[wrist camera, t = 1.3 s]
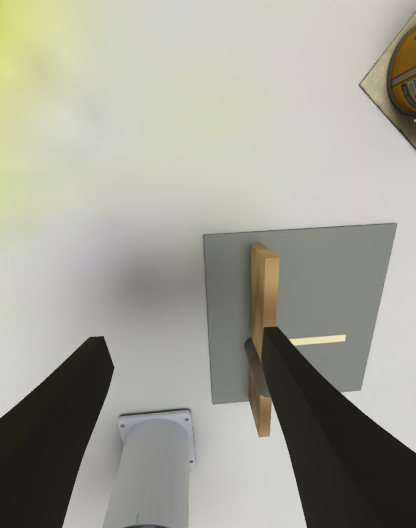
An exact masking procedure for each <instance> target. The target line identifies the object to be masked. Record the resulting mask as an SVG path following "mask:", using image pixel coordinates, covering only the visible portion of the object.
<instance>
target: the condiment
mask: <svg viewBox="0 0 416 528" xmlns="http://www.w3.org/2000/svg"><path fill="white" fill-rule="evenodd" d="M360 85H361V86H362V87H363V88H364V90H365V91H366V92H367V93H368V95H369V96H370V97H371V98H372V99H373V101H374V102H375V103H376V104H377V105H378V106H379V107H380V109H381V110H382V111H383V112H384V114H385V115H386V116H388V117H389V119H390V120H391V121H392V122H393V123H394V124H395V125H396V126H397V127H398V128H399V129H400V130H402V131H403V133H404V134H405V136H406V137H407V138H408V139H409V140H410V142H411V143H412V144H413V145H414V146H415V147H416V122H414V120H415V119H416V12H415V14H414V15H413V16H412V17H411V19H410V20H409V21H408V23H407V24H406V25H405V26H404V28H403V29H402V30H401V32H400V33H399V34H398V35H397V37H396V38H395V39H394V41H393V42H392V43H391V45H390V46H389V47H388V48H387V50H386V51H385V52H384V54H383V55H382V56H381V58H380V59H379V60H378V62H377V64H376V65H375V66H374V67H373V68H372V70H371V71H370V72H369V74H368V75H367V76H366V78H365V79H364V80H363V81H362V83H361V84H360Z"/></svg>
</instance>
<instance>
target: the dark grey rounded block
mask: <svg viewBox="0 0 416 528" xmlns="http://www.w3.org/2000/svg"><path fill="white" fill-rule="evenodd" d="M244 348H245V351H246V354H247V357H248V360H249V394H248V398H249V402H250V405H251V409H252V413H253V417H254V420H255V424H256V428H257V432H258V435H259V437H266V436H270V420H271V402H272V399H271V396H270V393H269V390H268V387H267V384H266V380H265V376H264V371H263V367H262V364H261V361H260V359H259V356H258V353H257V351H256V348H255V346H254V343H253V341H252V338H249V339H247V340H246V342H245V344H244Z"/></svg>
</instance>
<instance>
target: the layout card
mask: <svg viewBox="0 0 416 528" xmlns="http://www.w3.org/2000/svg"><path fill="white" fill-rule="evenodd" d="M396 228H397V224H395V223H392V224H375V225H358V226H341V227H325V228H308V229H291V230H275V231H258V232H241V233H224V234H208V235H203V237H204V255H205V273H206V292H207V310H208V329H209V347H210V365H211V384H212V402H213V405H214V404H224V403H235V402H245V401H249V398H248V394H249V360H248V357H247V354H246V351H245V348H244V344H245V342H246V340H247V339H249V338H251V336H250V284H251V245H254V244H263V245H265V246H266V247H267V248H268V249H270V250H271V251H272V252H273V253H275V254H276V255H277V256H279V257H280V262H279V279H278V297H277V314H276V326H277V327H279V328H280V330H281V331H282V332H283V333H284V334H285V336H286V337H287V338H288V339H289V340H290V341H291V343H292V344H293V345H294V346H295V347H296V348H297V349H298V350H299V352H300V353H301V354H302V355H303V356H304V357H305V358H306V359H307V360H308V361H309V362H310V363H311V364H312V365H313V367H314V368H315V369H316V370H317V371H318V372H319V373H320V374H321V375H322V376H323V377H324V378H325V379H326V380H327V381H328V382H329V383H331V384H332V385H333V386H334V387H335V388H336V389H337V390H338V391H339V392H350V391H360V390H361V387H362V382H363V378H364V373H365V369H366V364H367V359H368V355H369V350H370V346H371V341H372V337H373V332H374V328H375V323H376V319H377V314H378V310H379V305H380V300H381V296H382V291H383V287H384V282H385V278H386V273H387V269H388V264H389V260H390V255H391V250H392V246H393V241H394V237H395V232H396Z"/></svg>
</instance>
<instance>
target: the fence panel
mask: <svg viewBox="0 0 416 528" xmlns="http://www.w3.org/2000/svg"><path fill="white" fill-rule="evenodd" d="M279 262H280V257H279V256H277V255H276V254H275V253H273V252H272V251H271V250H270V249H268V248H267V247H266V246H265V245H263V244H254V245H251V284H250V336H251V338H252V341H253V343H254V346H255V348H256V351H257V353H258V356H259V359H260V361H261V352H262V341H263V330H264V327H275V326H276V314H277V297H278V279H279ZM261 364H262V362H261Z"/></svg>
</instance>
